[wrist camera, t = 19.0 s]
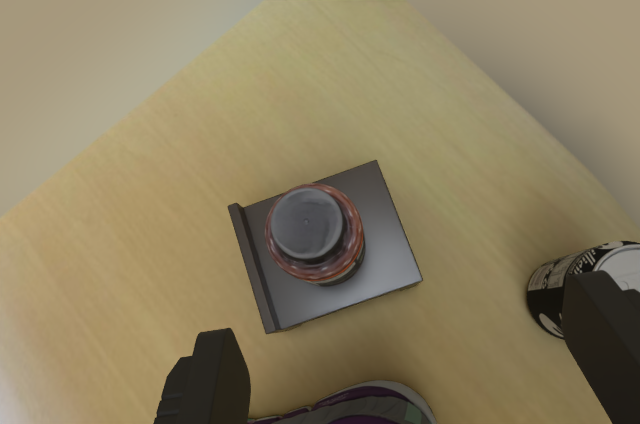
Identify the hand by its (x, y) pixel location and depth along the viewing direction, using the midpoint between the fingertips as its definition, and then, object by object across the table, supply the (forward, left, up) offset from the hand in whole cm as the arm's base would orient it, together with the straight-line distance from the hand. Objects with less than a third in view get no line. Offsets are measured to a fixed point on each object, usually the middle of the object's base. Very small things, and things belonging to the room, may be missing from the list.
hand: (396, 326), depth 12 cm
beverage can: (-15, +3, -31) cm, 34 cm away
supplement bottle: (+2, -6, -25) cm, 26 cm away
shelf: (+2, -7, -31) cm, 31 cm away
